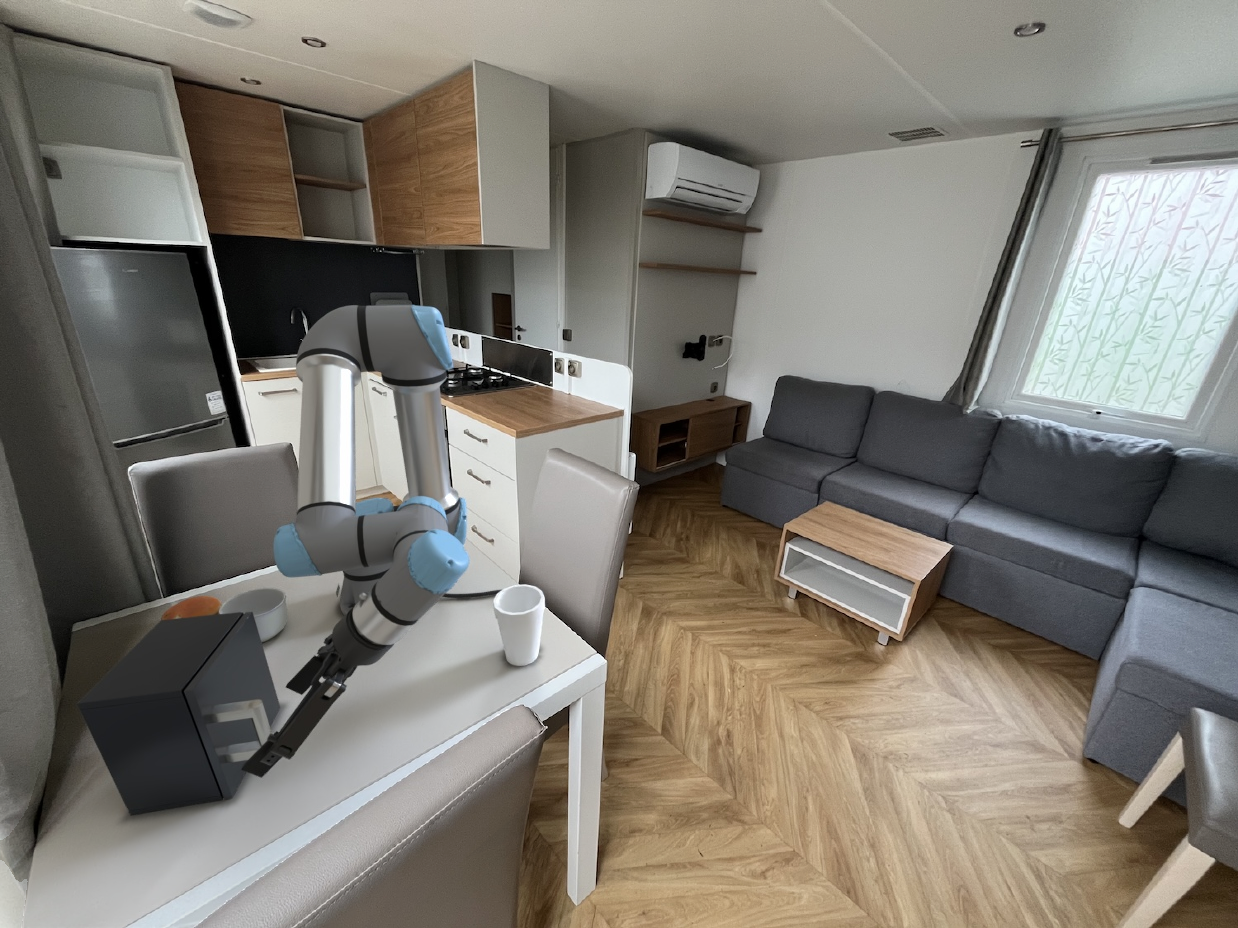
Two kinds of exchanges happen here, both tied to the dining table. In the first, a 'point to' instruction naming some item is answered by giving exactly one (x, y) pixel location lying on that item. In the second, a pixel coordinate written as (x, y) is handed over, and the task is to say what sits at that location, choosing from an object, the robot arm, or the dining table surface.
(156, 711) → the fridge
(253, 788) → the dining table surface
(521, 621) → the foam cup
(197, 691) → the fridge door
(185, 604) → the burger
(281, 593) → the teacup
